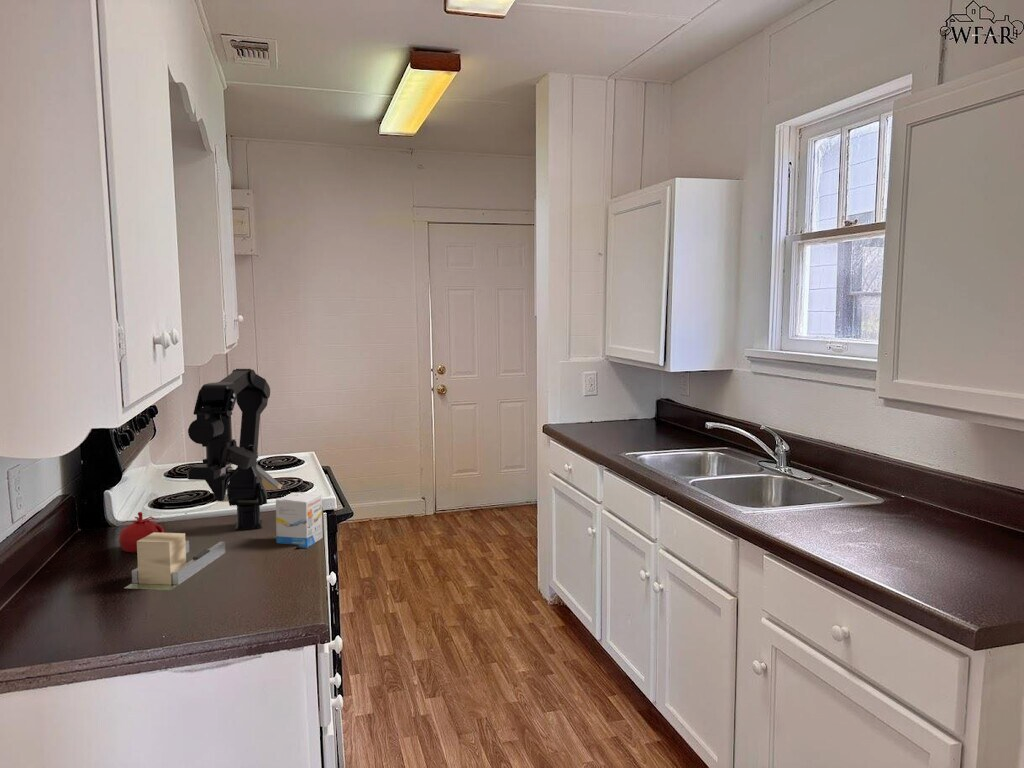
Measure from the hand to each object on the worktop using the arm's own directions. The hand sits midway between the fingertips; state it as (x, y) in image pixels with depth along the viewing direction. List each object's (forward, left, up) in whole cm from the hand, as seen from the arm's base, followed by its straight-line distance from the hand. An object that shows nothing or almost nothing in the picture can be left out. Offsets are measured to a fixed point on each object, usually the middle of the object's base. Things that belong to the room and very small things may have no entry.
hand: (220, 500), depth 167 cm
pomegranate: (-6, -18, -12) cm, 23 cm away
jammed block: (+18, -11, -11) cm, 24 cm away
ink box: (0, +18, -12) cm, 22 cm away
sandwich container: (-51, +11, -12) cm, 53 cm away
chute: (+12, -8, -12) cm, 19 cm away
